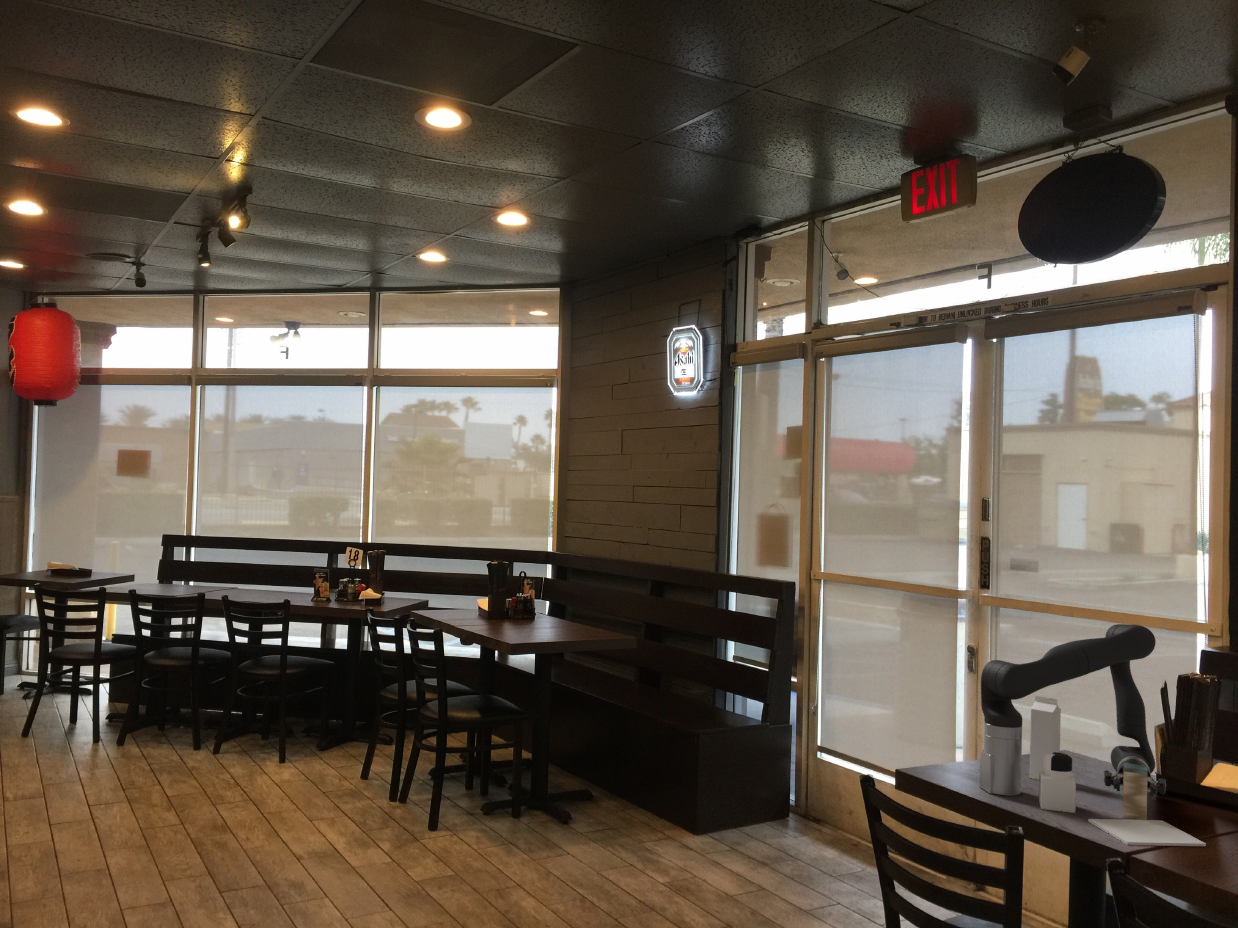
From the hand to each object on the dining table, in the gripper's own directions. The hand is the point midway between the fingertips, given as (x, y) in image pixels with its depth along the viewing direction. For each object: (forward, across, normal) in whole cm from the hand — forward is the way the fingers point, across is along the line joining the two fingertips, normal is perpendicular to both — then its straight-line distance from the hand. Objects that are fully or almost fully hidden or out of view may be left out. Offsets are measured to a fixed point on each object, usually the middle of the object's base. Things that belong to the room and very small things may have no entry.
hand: (1135, 789), depth 239 cm
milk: (-27, -21, +7) cm, 35 cm away
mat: (+11, +2, +7) cm, 13 cm away
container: (0, -17, +7) cm, 19 cm away
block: (-2, 0, +7) cm, 7 cm away
